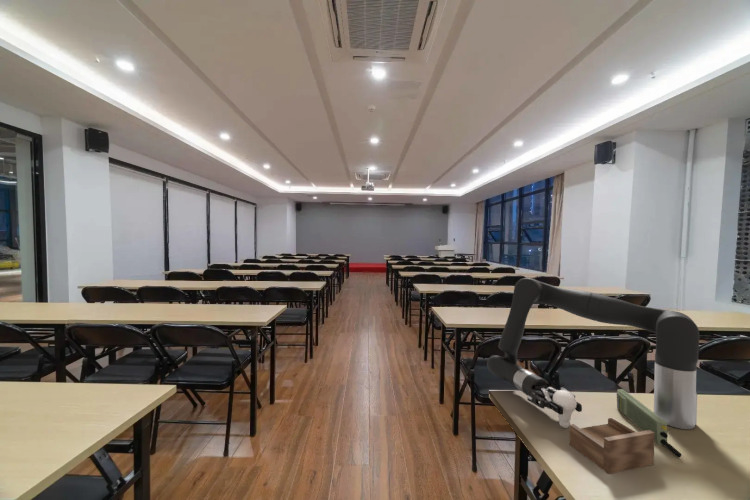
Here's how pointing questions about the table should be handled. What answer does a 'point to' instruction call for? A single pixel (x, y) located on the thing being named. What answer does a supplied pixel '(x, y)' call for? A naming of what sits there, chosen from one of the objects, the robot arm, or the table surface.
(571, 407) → the lightbulb
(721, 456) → the table surface
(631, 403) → the handheld radio
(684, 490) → the table surface
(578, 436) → the stand
